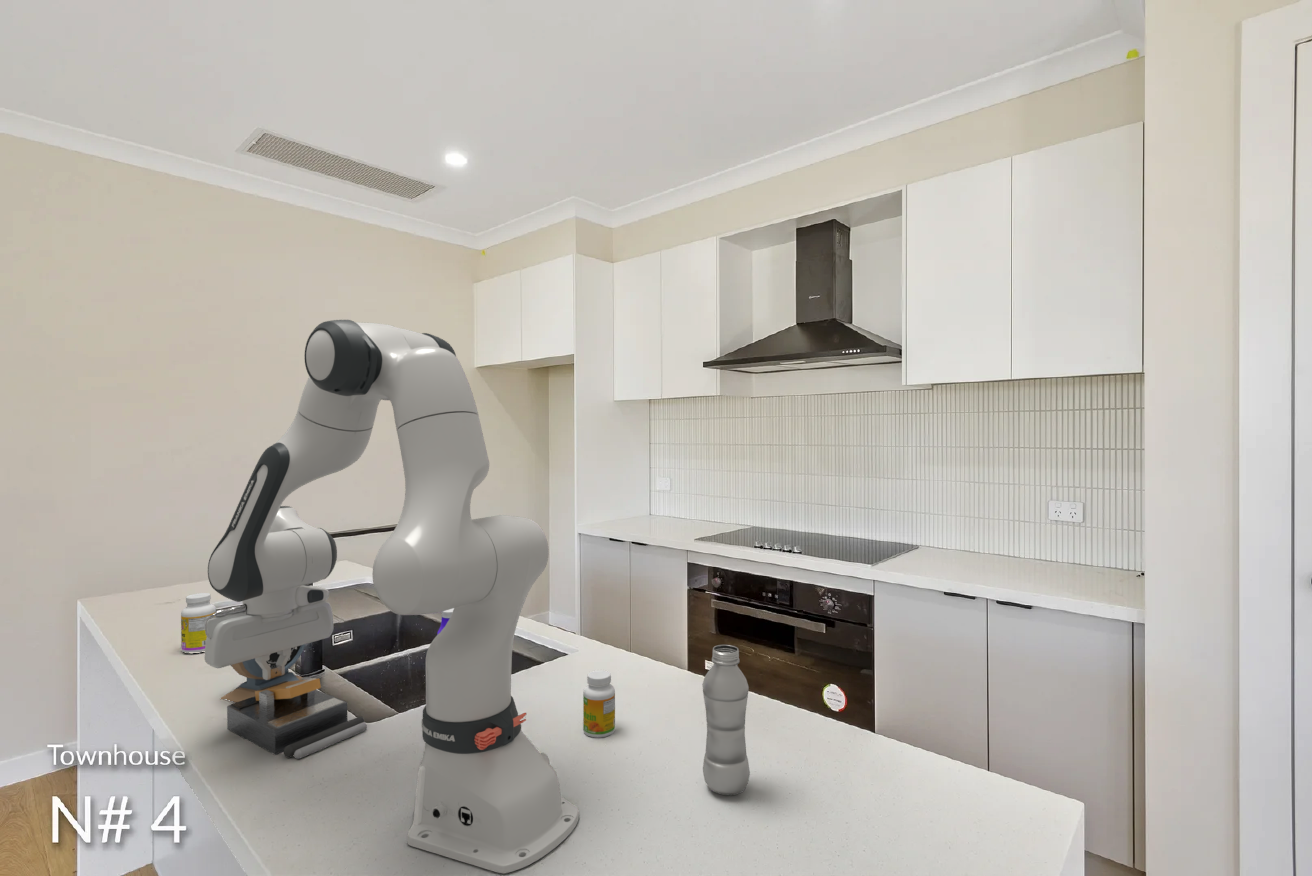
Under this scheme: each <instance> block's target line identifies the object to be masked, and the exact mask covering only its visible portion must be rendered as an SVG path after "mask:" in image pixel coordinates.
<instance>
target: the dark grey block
mask: <svg viewBox="0 0 1312 876" xmlns="http://www.w3.org/2000/svg"><path fill="white" fill-rule="evenodd" d="M308 679H311V677H309V676H303V678H301V679H300V680H308ZM348 714H349V713H348V701H345V700H342V699H340V698H338V697H335V696H333V695H330V694H328V693H326V692H323V691H320V690H318V689H316V690H313V691H311V692H308V693H305V694H302V695H299V696H296V697H293V698H288V699H274V693H273V692H271V691H269V690H264V691H261V692H259V701H256V698H255V696H254V697H251V698H248V699H245V700H242V701H239V702H232V703H230V704H228V705H227V706H226V716H227V719H226V722H227V723H226V728H227V730H228V731H230V732H232V733H234V734H236V735H238V736H240V737H241V738H244V739H245V740H247V741H249V742H250V743H252V744H254V745H256V746H258V747H260V748H262V749H263V750H266V751H267V752H270V753H272V754H273V755H274V756H276V755H278V754H281V753H284V749H285V748H286V747H287V746H288V745H290V744H293V743H295V742H298V741H300V740H303V739H305V738H308V737H310V736H312V735H315V734H317V733H320V732H322V731H325V730H327V729H330V728H332V727H335V726H337V725H340V724H342V723H345V722H347V721H349V720H348Z"/></svg>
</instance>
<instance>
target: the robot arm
mask: <svg viewBox="0 0 1312 876" xmlns="http://www.w3.org/2000/svg"><path fill="white" fill-rule="evenodd" d="M304 366H305V369H306V372H307V374H308V378H307V380H306V383H305V384H304V385H305V386H304V389H303V391H302V394H301V397H300V401H299V404H298V407H297V411H296V414H295V417H294V419H293V421H292V423H291V425H290V426H289V427H288V429H287V430H286V432H285V433H284V434H283V435H282V436H281V437H280V438H279V439H278V440H277V442H275V443H273V444H272V445H270V446H269V447H267V448H266V449H265V450H264V451H263V452H262V454H261V456H260V457H259V459H258V461H257V463H256V465H255V466H254V469H253V470H252V473H251V476H250V477H249V480H248V482H247V484H246V486H245V488H244V491H243V492H242V495H241V497H240V500H239V501H238V504H237V506H236V509H235V511H234V513H233V515H232V518H231V520H230V521H229V524H228V527H227V528H226V530H225V532H224V534H223V535H222V537H221V538H220V540H219V541H218V543H217V544H216V546H215V547H214V548H213V550H212V553H211V555H210V557H209V560H208V564H207V577H208V582H209V584H210V587H211V588H212V589H213V590H214V591H216V592H217V594H219V595H221V596H222V597H224V598H226V599H229V600H230V601H231V600H232V601H234V602H237V603H240V602H242V604H239V605H235V606H231V607H229V608H221V609H219V610H218V609H216V611H215V613H214V614H212V615H211V616H210V617H209V618H208V619H207V620H206V622H205V633H206V636H207V639H206V646H205V652H204V662H205V663H206V664H207V665H209V666H210V667H212V668H215V669H222V668H225V667H229V666H231V665H233V664H236V663H240V662H243V661H247V660H251V659H254V658H255V661H256V662H257V663H258V665H259V666H260V667H261V668H262V672H263V679H265V680H269V679H272V678H275V677H278V676H281V675H284V674H285V665H286V663H287V661H288V659H289V657H290V655H291V648H293V647H297V646H300V645H304V644H305V645H306V644H310V643H313V642H317V641H320V640H324V639H328V638H330V637H331V635H332V633H333V632H334V615H333V608H332V605H331V604H330V602H329V601H327V600H328V599H329V598H330V591H329V590H328V588H325V587H322V586H317V585H312V584H315V583H318V582H320V581H323V580H325V579H327V578H328V577H329V576H330V575H331V574H332V572H333V570H334V568H335V566H336V564H337V559H338V548H337V544H336V541H335V539H334V538H333V536H332V535H331V534H330V533H329V532H328V531H326V529H323V528H321V527H316V526H313V525H311V524H309V523H307V522H305V521H304V519H302V518H300V516H299V514H298V511H297V509H296V508H295V507H292V506H290V505H289V506H288V505H282V504H283V502H284V501H285V500H286V499H287V498H288V497H289V496H290V495H291V494H292V493H294V492H295V491H296V490H298V489H300V488H301V487H303V486H305V485H307V484H310V483H311V482H313V481H316V480H318V479H320V478H324V477H327V476H329V475H332V474H335V473H338V472H341V471H343V470H344V469H345V470H346V469H347V468H349V467H350V466H352V465H353V464H354V463H356V462H357V461H358V460H359V459H360V458H361V457H362V455H363V454H364V452H365V451H366V449H367V447H368V445H369V441H370V438H371V435H372V432H373V428H374V424H375V421H376V417H377V413H378V412H377V411H378V409H379V408H378V407H379V404H380V403H381V400H382V401H389V402H390V403H391V406H392V410H393V417H394V423H395V428H396V435H397V438H398V444H399V449H400V450H399V451H400V455H401V459H402V461H401V462H402V468H403V475H404V486H405V487H404V488H405V489H404V490H405V491H404V502H403V507H402V510H401V514H400V517H399V519H398V522H397V525H396V526H395V528H394V530H393V531H392V533H391V534H390V536H389V537H387V539H386V540H385V542H383V544H382V545H381V546H380V548H379V549H378V551H377V553H376V556H375V559H374V562H373V566H372V584H373V587H374V590H375V593H376V595H377V597H378V599H379V600H380V602H382V604H383V606H385V608H387V609H388V610H389V611H390V612H392V613H393V614H396V615H399V616H413V615H414V616H418V615H420V616H422V615H430V614H439V613H442V611H446V610H449V609H453V608H454V610H453V612H452V615H451V617H450V619H449V621H448V622H447V624H446V626H445V627H444V628H443V630H442V631H441V632H440V633H439V634H438V635H436V636H435V637H434V638H433V640H432V641H431V643H430V644H429V647H428V648H427V651H426V654H425V655H426V657H425V706H424V707H423V710H422V718H421V729H422V730H421V731H422V735H421V736H422V737H421V738H422V740H423V741H424V742H425V743H424V750H423V753H422V758H421V762H420V765H419V768H418V772H417V781H416V791H415V803H414V812H413V815H412V821H413V822H412V824H411V826H410V828H409V830H408V832H407V838H406V844H407V845H409V846H411V847H414V848H417V849H420V850H423V851H427V852H430V853H433V854H435V855H436V854H437V855H440V856H443V857H446V858H449V859H453V860H454V861H455V860H456V861H459V862H462V863H466V864H468V865H472V866H476V867H478V868H481V869H485V870H488V871H491V872H495V873H499V874H508V873H511V872H515V871H517V870H520V869H523V868H525V867H527V866H529V865H531V864H534V863H535V862H537V861H538V860H540V859H541V858H543V857H545V856H546V855H548V854H549V853H550V852H551V851H552V850H555V849H556V847H558V846H559V845H560V844H561V843H562V842H563V841H564V840H566V838H568V837H569V835H571V833H572V832H573V831H574V830H575V828H576V826H577V824H578V822H579V819H580V811H579V809H580V808H579V807H578V806H577V805H575V804H574V803H573V802H570V801H569V800H568V799H566V798H565V797H563V796H562V795H561V788H560V782H559V778H558V774H557V771H556V770H555V768H554V767H553V766H552V765H551V764H550V759H549V756H548V754H546V753H544V752H540V751H539V749H538V748H536V746H535V745H534V744H533V743H532V742H531V740H530V739H529V738H528V737H527V736H526V734H525V732H523V730H522V724H523V723H524V722H526V721H527V718H524V717H526V715H527V712H523V713H521V714H519V712H518V709H517V705H516V702H515V700H514V697H513V696H512V658H513V657H512V656H513V645H514V640H515V639H514V637H515V634H516V629H517V625H518V622H519V619H520V615H521V613H522V609H523V608H524V607H523V606H524V604H525V601H526V599H527V597H528V595H529V592H530V591H531V589H532V588H533V585H534V584H535V583H536V581H537V580H538V579H539V578H540V576H541V575H542V574H543V572H544V571H545V569H546V567H547V565H548V560H549V555H550V554H549V553H550V552H549V543H548V539H547V535H546V534H545V532H544V531H543V529H542V528H541V526H540V525H539V523H537V522H536V521H535V520H533V519H531V518H529V517H523V516H515V515H507V514H499V515H491V516H486V517H481V518H479V517H478V518H473V519H472V516H471V501H472V495H473V493H474V490H475V489H476V488H477V487H479V485H480V484H482V483H483V482H484V480H485V479H486V477H487V475H488V474H489V471H490V460H489V455H488V451H487V446H486V442H485V437H484V434H483V429H482V425H481V421H480V420H481V419H480V416H479V412H478V411H479V410H478V408H477V405H476V400H475V397H474V394H473V390H472V388H471V386H470V383H469V380H468V378H467V376H466V375H467V374H466V373H465V370H464V368H463V366H462V364H461V362H460V359H458V357H457V355H456V352H455V350H454V348H453V347H452V345H451V344H450V343H449V342H448V341H446V340H444V338H443V339H442V338H441V337H439V336H436V335H433V334H431V333H427V332H422V333H420V332H418V331H415V330H411V329H406V328H404V327H403V328H402V327H397V326H394V325H391V324H387V323H377V322H363V321H362V322H360V321H357V322H356V321H353V320H351V319H333V320H326V321H322V322H321V323H319V324H318V325H317V326H316V327H315V328H314V329H313V330H312V332H311V333H310V334H309V336H308V338H307V341H306V343H305V347H304ZM310 584H311V585H310ZM214 616H216V617H214ZM212 617H214V618H212ZM275 652H277V654H280V656H279V658H278V660H277V662H276V665H273V666H269V665H268V664H267V662H266V661H268V660H269V654H272V653H275Z"/></svg>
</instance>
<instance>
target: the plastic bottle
mask: <svg viewBox="0 0 1312 876" xmlns="http://www.w3.org/2000/svg"><path fill="white" fill-rule="evenodd" d="M739 657H740V650H739V647H737V646H736V645H731V644H718V645H715V646H713V647H712V657H711V663H712V664H713V665H712V666H711V667H710V668H709V670H708V671H707V673H706V674H705V676H704V677H703V681H702V693H703V694H702V695H703V700H704V701H703V702H704V707H705V715H706V717H705V718H706V719H705V721H706V740H705V741H706V742H705V753H704V757H703V764H702V765H703V766H702V773H703V778H704V782H705V784H706V786H707V787H708V789H709V790H711V791H713V792H714V793H716V794H717V795H718V794H719V795H724V796H735V795H738V794H741V793H743V792H744V790H745V789H746V787H748V785H749V781H750V780H749V779H750V773H751V771H750V764H749V763H750V762H749V758H748V756H747V746H746V713H747V705H748V698H749V688H750V687H749V684H748V680H747V678H746V676H745V675H744V673H743V672H742V670H741V669H740V667H739V666H738V664H740V658H739Z"/></svg>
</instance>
